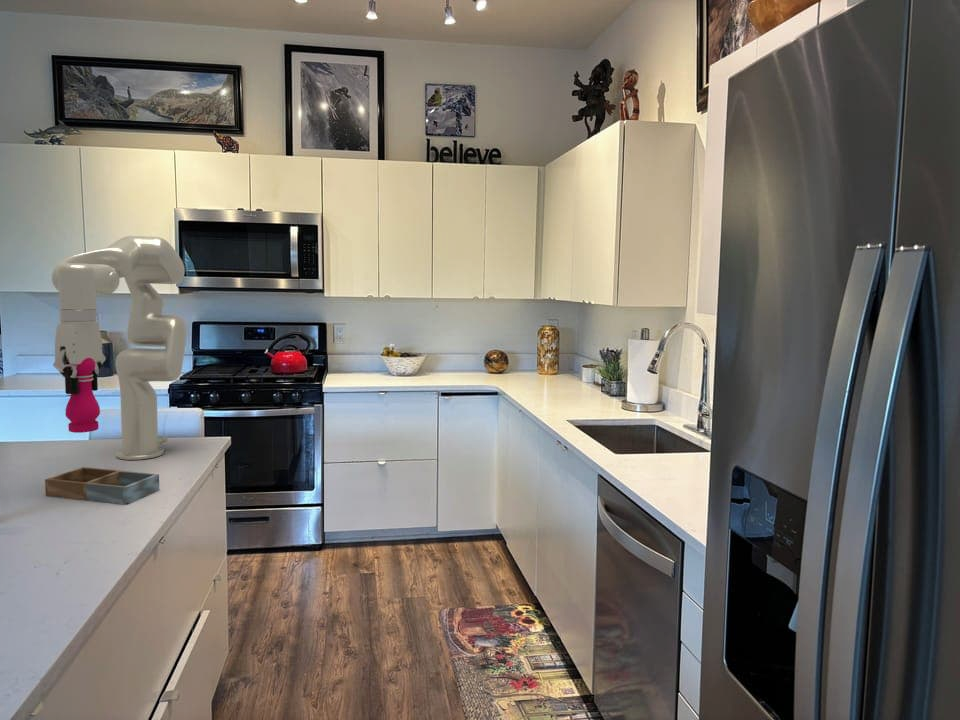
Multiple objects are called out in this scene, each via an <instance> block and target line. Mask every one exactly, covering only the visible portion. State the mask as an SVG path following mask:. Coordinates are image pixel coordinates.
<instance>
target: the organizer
mask: <svg viewBox="0 0 960 720" xmlns="http://www.w3.org/2000/svg"><path fill="white" fill-rule="evenodd" d="M44 486H45V487H44V488H45V497H54V498H61V497H64V499H71V498H73V500H80V499H84V500H83V501H89V500H93V501H92V502H98V501H101V503H108V502H111V503H110V504H117V503H121V504H120V505H128V504H130V502H131V503H133V502H135V501H138V500H139V498H140V499H142V498H144V497H143V496H145V497H146V495H147V496H149V495H152V494H153V492H154V493H156V492H159V491H160V474H157V473H148V472H147V473H146V472H137V471H126V470H117V469H115V470H114V469H108V468H107V469H106V468H97V467H85V466H82V467H80V468H76V469H73V470H70V471H67V472H64V473H60V474H57V475H54V476H52V477H48V478H45V479H44ZM158 490H159V491H158ZM151 493H152V494H151ZM148 494H149V495H148ZM141 497H142V498H141ZM137 499H138V500H137ZM134 500H135V501H134ZM132 501H133V502H132ZM127 503H128V504H127Z"/></svg>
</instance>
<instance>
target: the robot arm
mask: <svg viewBox="0 0 960 720" xmlns="http://www.w3.org/2000/svg"><path fill="white" fill-rule="evenodd" d="M185 272H186V271H185V265H184V262H183V260H182V258H181V257H180V255H179V254H178V253H177V251H176V250H175V249H174V247H173V246H172V245H171V243H169V242H168V241H167V240H166V239H164V238H163V237H159V236H141V235H140V236H139V235H136V236H135V235H129V236H124V237H122V238H120V239H118V240H116V241H115V242H113V243H111V244H109V246H107V247H105V248H99V249H95V250H92V251H89V252H88V251H87V252H84V253H78V254H74V255H71V256H68V257H66V258H65V259H63V260H61V261H60V262H59V263H57V264H56V265H55V267H54V268H53V270H52V274H51V281H52V285H53V286H54V288H55V289H56V290H57V291H58V299H59V300H58V301H59V302H58V303H59V319H60V321H59V322H58V323H57V324H56V329H55V330H56V331H55V339H54V340H55V341H54V362H53V365H52V366H53V368H55V369H56V370H57V371H58V373H60V374H61V376H62V378H64V386H65V387H64V388H65V394H66V395H71V394H73V395H77V394H79V380H78V378H75V377H76V374H77V365H79V364H81V363H82V361H83V360H84V359H86V358H92V359H93V360H94V361H95V369H94V370H93V372H92V373H91V374H93V380H92V385H91V386H92V391H93V392H94V391H98V390H99V386H98V385H99V384H98V383H99V382H98V374H100V369H101V367H102V366H103V363H104V362H105V361H106V360H107V358H106V356H105V354H104V353H103V343H102V334H101V329H100V325H99V321H98V312H97V295H98V296H100V295H101V296H106V295H107V296H108V295H110V294H112V293H114V292H115V291H117V289H118V288H119V285H120V279H122V278H123V279H124V281H125V284H126V285H127V288H128V291H129V294H130V297H131V303H130V304H131V305H130V311H129V312H130V313H129V317H128V323H127V324H128V325H127V331H126V332H127V333H126V334H127V335H126V337H127V340H128V342H129V343H130V344H132V345H134V346H138V347H139V346H140V347H159V348H128V349H124V350H122V351H120V352H119V353H118V354H117V356H116V358H115V369H116V374H117V377H118V383H119V390H120V391H119V392H120V393H119V395H120V419H121V420H120V421H121V422H120V423H121V427H120V428H121V449H120V450H118V451H116V453H115V455H116V458H117V459H119V460H125V461H126V460H127V461H135V460H136V461H138V460H148V459H153V458H157V457H160V456H162V455H164V453H165V449H164V448H163V447H161V444H164V443H167V442H168V439H169V438H168V437H167V435H163V436H159V431H158V430H159V429H158V428H159V425H158V423H159V422H158V397H157V392H156V390H155V389H154V388H153V386H152V385H151V384H150V382H174V381H177V380H178V379H179V378H180V377H181V374H182V370H183V365H184V355H185V347H186V342H187V340H186V339H187V326H186V323H185V321H184V319H183V318H182V317H180V316H179V315H175V314H163V308H164V301H163V299H162V296H161V295H160V293H159V292H158V291H157V290H156V289H155V288H154V287H153V286H152V284H154V285H155V284H156V285H161V284H162V285H167V284H168V285H176V284H179V283H181V282H182V281H183V279H184V277H185ZM160 347H161V348H160ZM163 347H164V348H163ZM68 362H69V363H70V364H68ZM68 367H72V369H71V371H70V370H69V369H68Z"/></svg>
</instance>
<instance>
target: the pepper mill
mask: <svg viewBox="0 0 960 720" xmlns="http://www.w3.org/2000/svg"><path fill="white" fill-rule="evenodd" d="M68 364H70V363H69V362H68ZM68 369H69V370H70V371H71V369H72V367H68ZM94 369H95V361H94V360H93V359H92V358H86V359H84V360H83V361H82V363H81V364H79V365H77V374H76V377H75V378H78V380H79V394H77V395H73V394H70V397H69V399H68V402H67V403H66V407H65V417H66V419H68V420H69V421H70V422H68V424H67V425H68V426H67V427H68V431H69V432H70V433H73V434H74V433H77V434H78V433H79V434H81V433H90V432H94V431H97V430H99V421H98V420H97V418H98V417H99V416H100V414H101V408H100V405H99V402H98V400H97V399H96V397H95V394H94V391H92V386H91V385H92V380H93V374H91V373H92V372H93V370H94Z"/></svg>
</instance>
